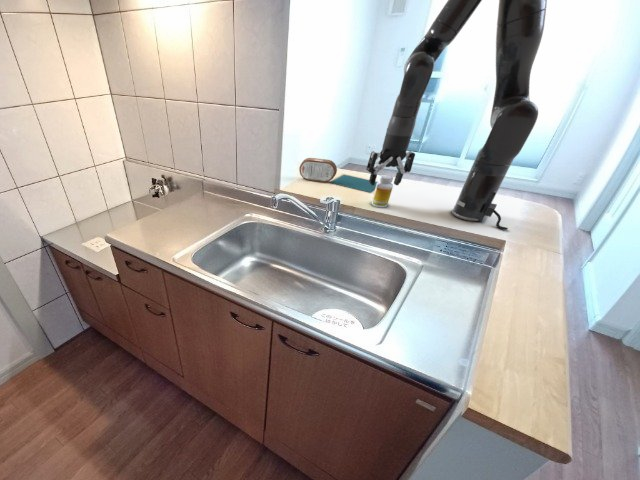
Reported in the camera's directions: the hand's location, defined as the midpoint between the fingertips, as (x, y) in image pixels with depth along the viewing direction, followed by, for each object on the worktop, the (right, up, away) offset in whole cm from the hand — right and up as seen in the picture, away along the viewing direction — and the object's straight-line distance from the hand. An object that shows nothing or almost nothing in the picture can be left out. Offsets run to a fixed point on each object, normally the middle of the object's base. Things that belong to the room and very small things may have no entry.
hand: (383, 184), depth 110 cm
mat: (-2, +8, +22) cm, 24 cm away
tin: (-17, +10, +24) cm, 32 cm away
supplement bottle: (0, -6, +4) cm, 7 cm away
